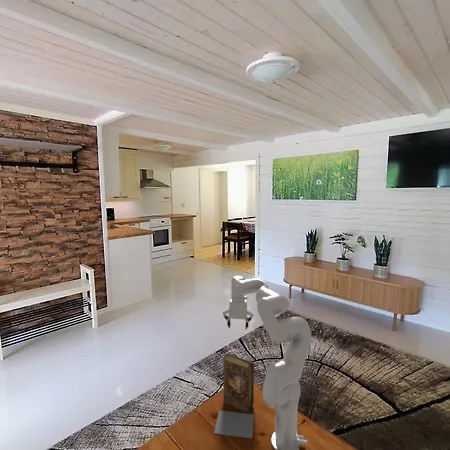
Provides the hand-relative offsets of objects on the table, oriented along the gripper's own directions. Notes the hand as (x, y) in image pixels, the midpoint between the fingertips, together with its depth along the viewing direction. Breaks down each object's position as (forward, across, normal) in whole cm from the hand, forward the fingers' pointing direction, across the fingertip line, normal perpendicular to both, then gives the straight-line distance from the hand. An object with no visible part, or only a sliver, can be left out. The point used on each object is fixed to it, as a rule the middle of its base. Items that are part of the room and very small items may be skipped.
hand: (237, 327), depth 157 cm
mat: (+38, -2, +24) cm, 45 cm away
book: (+38, -1, +10) cm, 40 cm away
